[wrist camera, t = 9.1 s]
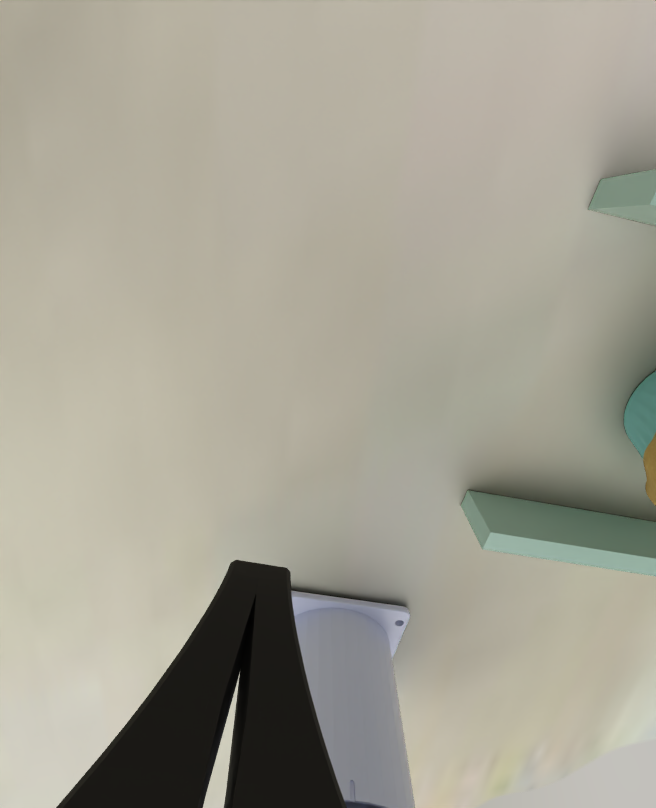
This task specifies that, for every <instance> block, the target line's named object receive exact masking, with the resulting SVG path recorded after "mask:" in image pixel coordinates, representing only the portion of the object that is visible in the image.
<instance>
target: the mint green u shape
mask: <svg viewBox="0 0 656 808" xmlns="http://www.w3.org/2000/svg"><path fill="white" fill-rule="evenodd" d="M588 210H592V211H596V212H600V213H605V214H609V215H613V216H617V217H621V218H625V219H629V220H633V221H637V222H642V223H646V224H650V225H654V226H656V169H653V170H648V171H642V172H637V173H632V174H626V175H621V176H615V177H610V178H605V179H601V180H600V183H599V185H598V187H597V190H596V192H595V194H594V197H593V199H592V201H591V204H590V206H589V208H588ZM461 507H462V509H463V511H464V513H465V515H466V517H467V519H468V521H469V523H470V525H471V527H472V529H473V531H474V533H475V535H476V537H477V539H478V541H479V543H480V545H481V547H482V549H484V550H490V551H496V552H503V553H509V554H516V555H522V556H529V557H535V558H541V559H548V560H554V561H561V562H567V563H573V564H580V565H586V566H593V567H599V568H606V569H612V570H618V571H625V572H631V573H638V574H644V575H650V576H656V522H653V521H647V520H641V519H635V518H629V517H623V516H617V515H611V514H606V513H600V512H594V511H588V510H582V509H576V508H570V507H564V506H558V505H552V504H546V503H541V502H535V501H529V500H523V499H517V498H511V497H505V496H499V495H493V494H487V493H481V492H476V491H470V490H467V493H466V495H465V497H464V500H463V502H462V504H461Z"/></svg>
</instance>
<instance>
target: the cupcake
mask: <svg viewBox="0 0 656 808" xmlns="http://www.w3.org/2000/svg"><path fill="white" fill-rule="evenodd" d="M624 427H625V431H626V434H627V436H628V437H629V439H630V440H631V442H632V443H633V445H634V446H635V447H636V449H637V450H638V452H639V453H640V455H641V457H642V458H643V462H644V467H645V471H646V476H647V482H646V493H647V495H648V497H649V498H650V500H651V501H652V502H653V504H654V505H655V506H656V371H655V372H653V373H652V374H651V375H649V376H648V377H647V378H646V379H645V380H644V381H643V382H642V383H641V384H640V385H639V386H638V387H637V388H636V390H635V391H634V393H633V394H632V396H631V397H630V399H629V401H628V404H627V406H626V409H625V413H624Z"/></svg>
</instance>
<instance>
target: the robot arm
mask: <svg viewBox="0 0 656 808" xmlns="http://www.w3.org/2000/svg"><path fill="white" fill-rule="evenodd" d="M409 619H410V613H409V610H408V608H406V607H404V606H398V605H390V604H383V603H376V602H369V601H362V600H354V599H347V598H340V597H333V596H326V595H319V594H311V593H304V592H297V591H291V581H290V571H289V570H288V569H287V568H284V567H277V566H271V565H265V564H262V565H261V564H259V563H252V562H246V561H240V560H235V561H233V562H231V564H230V566H229V569H228V571H227V573H226V576H225V578H224V580H223V582H222V584H221V586H220V588H219V589H218V591H217V593H216V595H215V597H214V598H213V600H212V602H211V604H210V605H209V607H208V609H207V610H206V612H205V614H204V615H203V617H202V618H201V620H200V622H199V623H198V625H197V626H196V628H195V629H194V631H193V632H192V634H191V636H190V637H189V639H188V640H187V642H186V643H185V645H184V646H183V648H182V649H181V651H180V652H179V654H178V655H177V656H176V658H175V659H174V661H173V662H172V663H171V665H170V666H169V668H168V669H167V670H166V672H165V673H164V675H163V676H162V677H161V679H160V680H159V682H158V683H157V684H156V686H155V687H154V689H153V690H152V691H151V693H150V694H149V695H148V697H147V698H146V699H145V701H144V702H143V703H142V704H141V706H140V707H139V708H138V710H137V711H136V712H135V714H134V715H133V716H132V717H131V719H130V720H129V721H128V722H127V724H126V725H125V726H124V727H123V729H122V730H121V731H120V732H119V734H118V735H117V736H116V737H115V739H114V740H113V741H112V742H111V744H110V745H109V746H108V747H107V749H106V750H105V751H104V752H103V753H102V755H101V756H100V757H99V758H98V759H97V761H96V762H95V763H94V764H93V765H92V766H91V768H90V769H89V770H88V771H87V772H86V773H85V775H84V776H83V777H82V778H81V779H80V781H79V782H78V783H77V784H76V785H75V786H74V788H73V789H72V790H71V791H70V792H69V793H68V795H67V796H66V797H65V798H64V799H63V800H62V802H61V803H60V804H59V805H58V806H57V807H56V808H203V804H204V800H205V796H206V792H207V788H208V784H209V781H210V777H211V774H212V770H213V766H214V763H215V759H216V756H217V752H218V748H219V745H220V741H221V738H222V734H223V730H224V727H225V723H226V720H227V716H228V712H229V709H230V705H231V702H232V698H233V694H234V691H235V687H236V683H237V680H238V676H239V673H240V678H239V686H238V695H237V703H236V712H235V720H234V729H233V738H232V746H231V755H230V764H229V772H228V781H227V790H226V797H225V804H224V808H415V803H414V797H413V790H412V784H411V777H410V771H409V764H408V758H407V752H406V745H405V739H404V732H403V726H402V719H401V713H400V706H399V700H398V694H397V687H396V681H395V674H394V668H393V661H392V659H393V656H394V654H395V652H396V649H397V647H398V645H399V642H400V640H401V638H402V635H403V633H404V630H405V628H406V626H407V623H408V621H409Z"/></svg>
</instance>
